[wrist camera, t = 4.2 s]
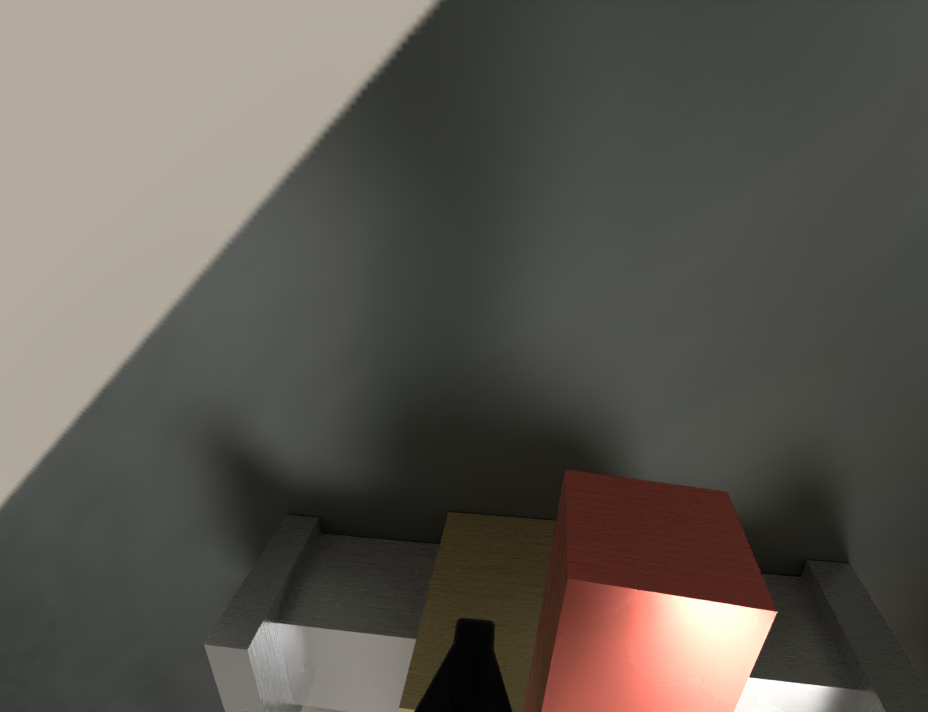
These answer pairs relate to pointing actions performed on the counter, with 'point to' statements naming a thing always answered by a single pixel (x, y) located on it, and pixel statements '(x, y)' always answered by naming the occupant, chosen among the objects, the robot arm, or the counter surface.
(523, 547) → the valve
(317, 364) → the counter surface
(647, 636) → the lever
